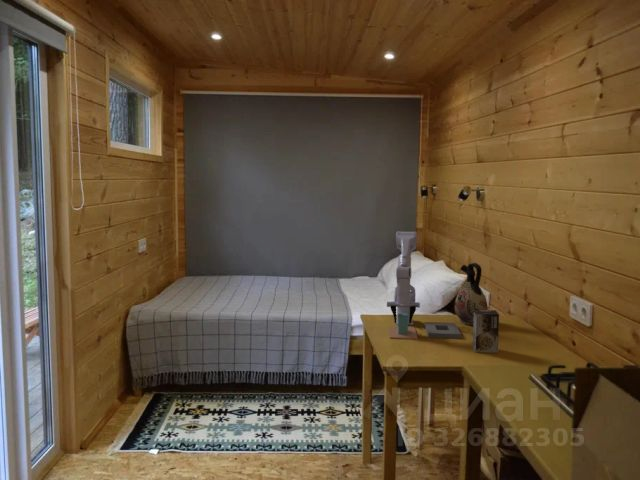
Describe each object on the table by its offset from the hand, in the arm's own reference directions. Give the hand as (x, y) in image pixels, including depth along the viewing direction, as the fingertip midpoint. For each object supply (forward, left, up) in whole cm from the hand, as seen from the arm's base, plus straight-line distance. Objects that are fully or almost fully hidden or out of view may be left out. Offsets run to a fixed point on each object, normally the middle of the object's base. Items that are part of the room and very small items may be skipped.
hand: (402, 322), depth 238 cm
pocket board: (-4, +18, -5) cm, 19 cm away
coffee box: (+20, +32, -5) cm, 38 cm away
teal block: (0, 0, -4) cm, 4 cm away
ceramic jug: (-20, +34, -5) cm, 40 cm away
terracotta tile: (0, 0, -5) cm, 5 cm away
